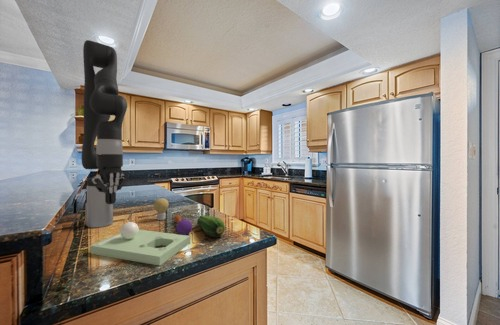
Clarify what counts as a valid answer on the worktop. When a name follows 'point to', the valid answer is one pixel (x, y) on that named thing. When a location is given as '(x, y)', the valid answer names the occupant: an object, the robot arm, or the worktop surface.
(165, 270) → the worktop surface
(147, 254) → the putting board
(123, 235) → the ball
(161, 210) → the light bulb
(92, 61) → the robot arm
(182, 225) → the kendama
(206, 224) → the vegetable
